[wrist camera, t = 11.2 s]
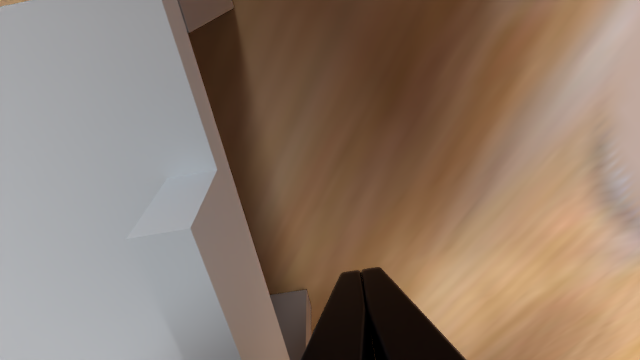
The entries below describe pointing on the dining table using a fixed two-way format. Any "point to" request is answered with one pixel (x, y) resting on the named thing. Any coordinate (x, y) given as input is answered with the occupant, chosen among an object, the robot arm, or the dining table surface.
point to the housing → (290, 308)
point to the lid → (119, 194)
